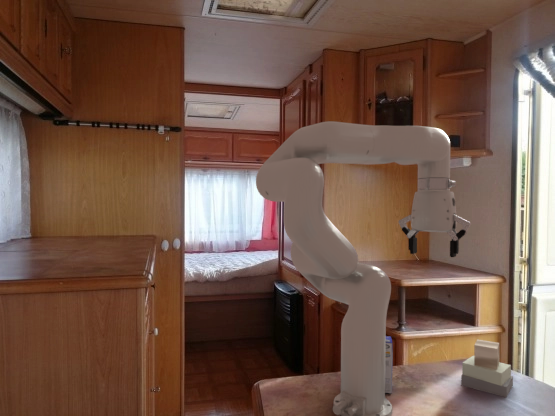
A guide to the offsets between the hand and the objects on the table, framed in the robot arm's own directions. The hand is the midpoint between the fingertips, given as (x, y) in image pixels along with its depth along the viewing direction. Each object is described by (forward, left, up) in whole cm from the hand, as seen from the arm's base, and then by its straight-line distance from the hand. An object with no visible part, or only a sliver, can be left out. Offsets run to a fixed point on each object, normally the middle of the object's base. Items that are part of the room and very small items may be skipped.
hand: (432, 255), depth 102 cm
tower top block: (+8, -11, -30) cm, 33 cm away
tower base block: (+8, -11, -33) cm, 36 cm away
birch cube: (+8, -11, -27) cm, 30 cm away
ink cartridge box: (-11, +11, -32) cm, 36 cm away
